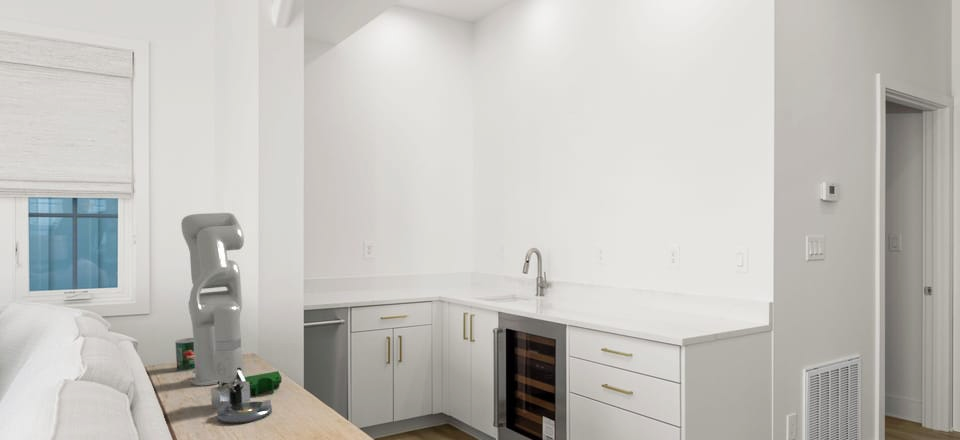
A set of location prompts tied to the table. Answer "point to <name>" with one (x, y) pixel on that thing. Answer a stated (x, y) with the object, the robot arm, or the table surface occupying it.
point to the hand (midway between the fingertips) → (231, 401)
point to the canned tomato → (185, 354)
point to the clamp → (264, 382)
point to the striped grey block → (228, 395)
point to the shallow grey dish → (244, 412)
